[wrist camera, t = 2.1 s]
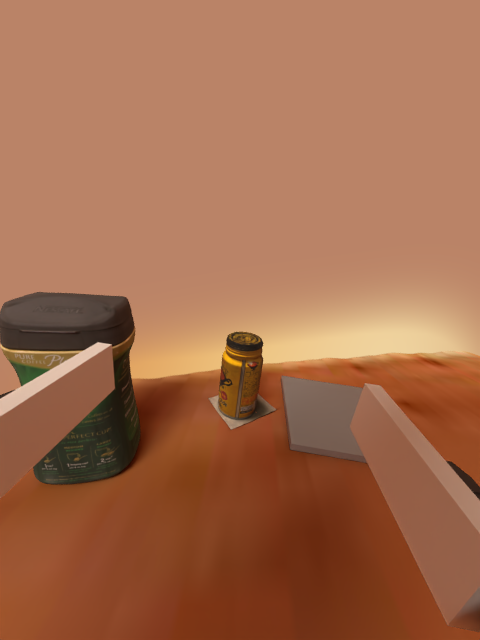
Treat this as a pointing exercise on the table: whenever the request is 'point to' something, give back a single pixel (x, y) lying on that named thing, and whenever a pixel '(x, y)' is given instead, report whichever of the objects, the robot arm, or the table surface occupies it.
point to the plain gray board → (321, 417)
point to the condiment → (241, 381)
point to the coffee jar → (57, 347)
